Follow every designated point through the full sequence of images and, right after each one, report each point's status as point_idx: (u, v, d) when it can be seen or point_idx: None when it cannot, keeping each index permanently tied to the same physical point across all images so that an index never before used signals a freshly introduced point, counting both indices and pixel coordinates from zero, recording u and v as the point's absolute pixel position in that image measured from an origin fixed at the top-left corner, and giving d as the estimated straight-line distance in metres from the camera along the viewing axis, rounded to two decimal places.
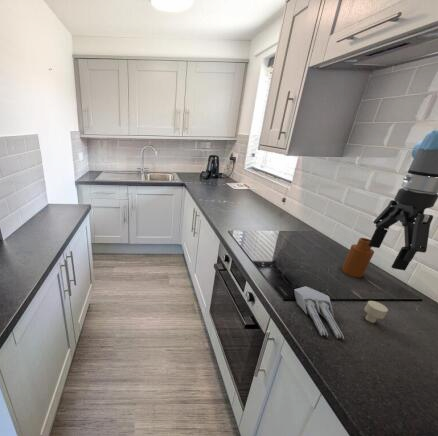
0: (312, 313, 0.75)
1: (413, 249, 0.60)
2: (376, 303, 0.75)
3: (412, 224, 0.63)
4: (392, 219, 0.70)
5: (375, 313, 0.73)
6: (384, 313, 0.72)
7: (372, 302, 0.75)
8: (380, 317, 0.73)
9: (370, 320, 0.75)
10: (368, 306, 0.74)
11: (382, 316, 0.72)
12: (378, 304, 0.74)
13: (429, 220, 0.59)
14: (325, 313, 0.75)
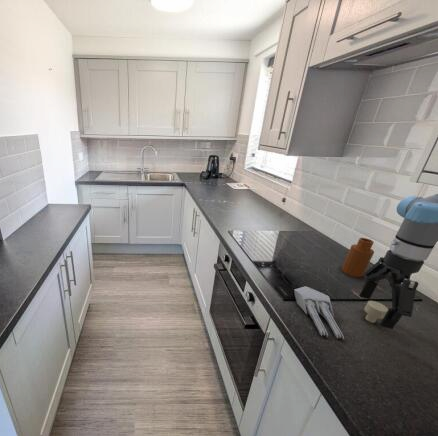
0: (312, 313, 0.75)
1: (399, 313, 0.63)
2: (376, 303, 0.75)
3: (399, 286, 0.66)
4: (381, 276, 0.74)
5: (375, 313, 0.73)
6: (384, 313, 0.72)
7: (372, 302, 0.75)
8: (380, 317, 0.73)
9: (370, 320, 0.75)
10: (368, 306, 0.74)
11: (382, 316, 0.72)
12: (378, 304, 0.74)
13: (414, 287, 0.63)
14: (325, 313, 0.75)
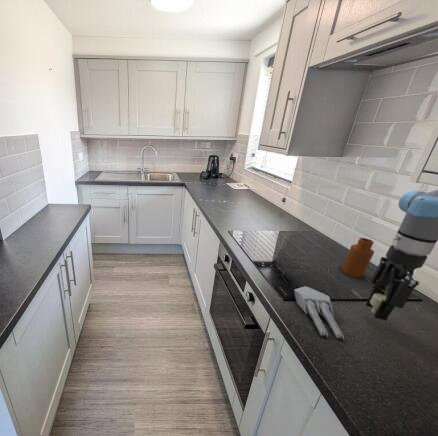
0: (312, 313, 0.75)
1: (391, 305, 0.67)
2: (382, 296, 0.74)
3: (398, 282, 0.67)
4: (387, 277, 0.72)
5: None
6: None
7: (378, 295, 0.74)
8: None
9: None
10: (374, 299, 0.73)
11: None
12: (384, 296, 0.73)
13: (414, 286, 0.63)
14: (325, 313, 0.75)
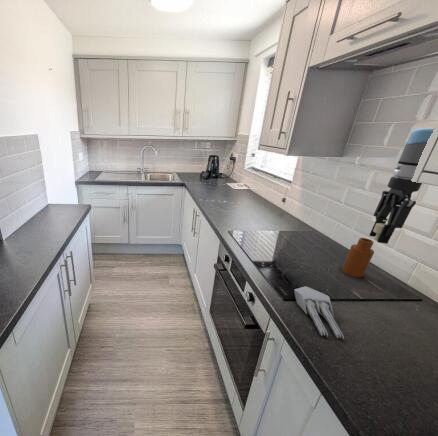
0: (312, 313, 0.75)
1: (392, 226, 0.78)
2: (383, 224, 0.85)
3: (398, 207, 0.78)
4: (388, 206, 0.83)
5: None
6: None
7: (380, 223, 0.85)
8: None
9: None
10: (376, 226, 0.84)
11: None
12: (385, 224, 0.84)
13: (412, 205, 0.74)
14: (325, 313, 0.75)
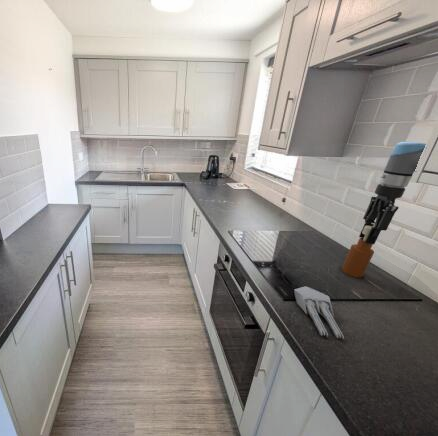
0: (312, 313, 0.75)
1: (378, 228, 0.88)
2: (371, 226, 0.94)
3: (384, 211, 0.88)
4: (375, 210, 0.92)
5: None
6: None
7: (368, 226, 0.94)
8: None
9: None
10: (365, 228, 0.94)
11: None
12: None
13: (395, 210, 0.83)
14: (325, 313, 0.75)
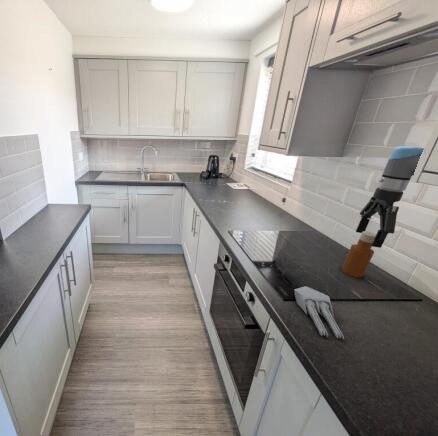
0: (312, 313, 0.75)
1: (385, 231, 0.84)
2: (369, 232, 0.95)
3: (385, 213, 0.87)
4: (372, 211, 0.94)
5: (368, 238, 0.93)
6: None
7: (365, 232, 0.95)
8: (372, 241, 0.93)
9: None
10: (362, 234, 0.95)
11: (373, 240, 0.92)
12: (370, 233, 0.95)
13: (396, 210, 0.83)
14: (325, 313, 0.75)
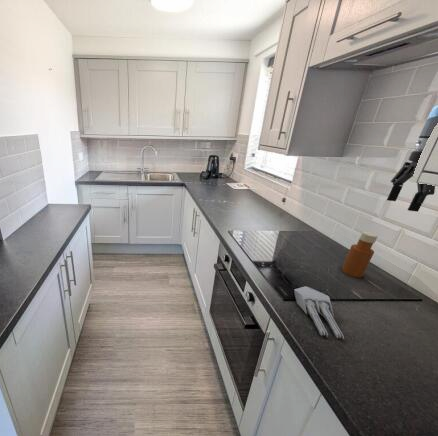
0: (312, 313, 0.75)
1: (424, 192, 0.82)
2: (369, 232, 0.95)
3: None
4: (406, 176, 0.92)
5: (368, 238, 0.93)
6: (375, 238, 0.92)
7: (365, 232, 0.95)
8: (372, 241, 0.93)
9: None
10: (362, 234, 0.95)
11: (373, 240, 0.92)
12: (370, 233, 0.95)
13: None
14: (325, 313, 0.75)
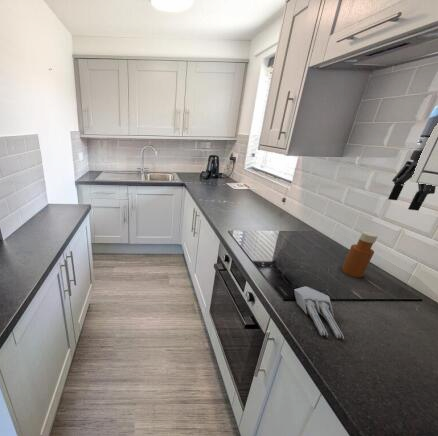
0: (312, 313, 0.75)
1: (425, 191, 0.82)
2: (369, 232, 0.95)
3: None
4: (408, 175, 0.92)
5: (368, 238, 0.93)
6: (375, 238, 0.92)
7: (365, 232, 0.95)
8: (372, 241, 0.93)
9: None
10: (362, 234, 0.95)
11: (373, 240, 0.92)
12: (370, 233, 0.95)
13: None
14: (325, 313, 0.75)
